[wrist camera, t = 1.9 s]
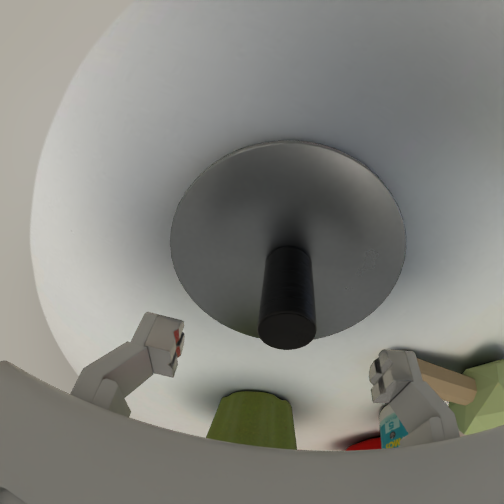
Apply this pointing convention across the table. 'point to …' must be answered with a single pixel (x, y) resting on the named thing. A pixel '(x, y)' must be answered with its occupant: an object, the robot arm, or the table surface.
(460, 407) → the decorative object
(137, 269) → the table surface
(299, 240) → the lid
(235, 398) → the plant pot
